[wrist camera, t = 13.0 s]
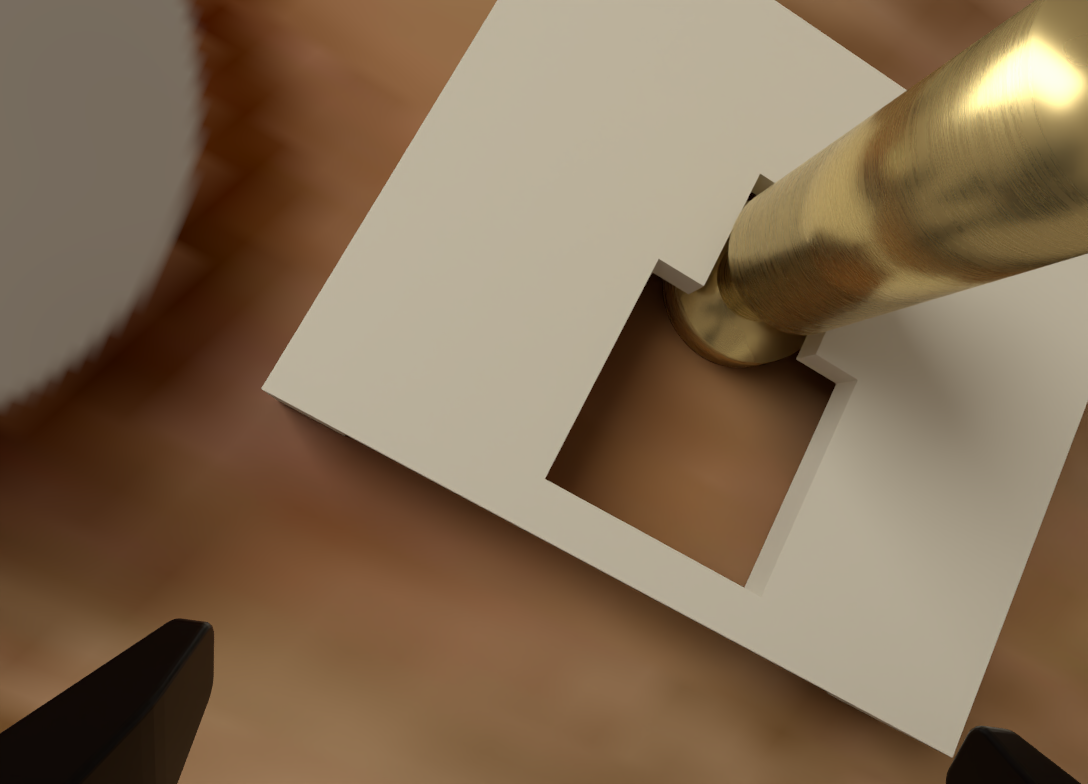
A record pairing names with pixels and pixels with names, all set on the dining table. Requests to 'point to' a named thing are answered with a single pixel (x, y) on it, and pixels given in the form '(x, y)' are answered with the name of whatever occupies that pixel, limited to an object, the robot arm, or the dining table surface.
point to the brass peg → (912, 199)
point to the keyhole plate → (686, 262)
